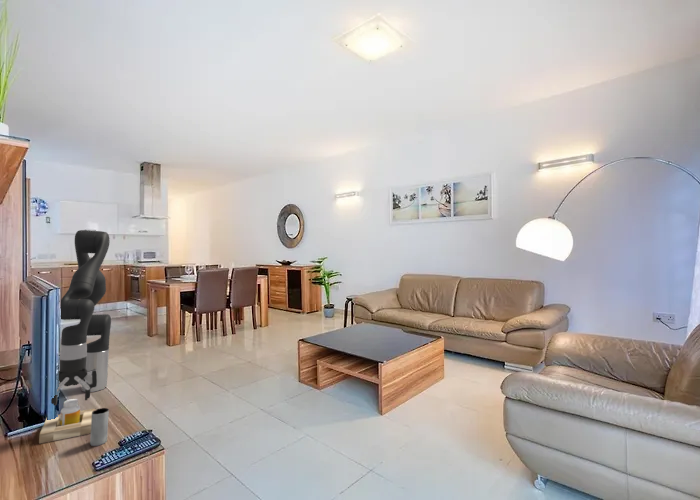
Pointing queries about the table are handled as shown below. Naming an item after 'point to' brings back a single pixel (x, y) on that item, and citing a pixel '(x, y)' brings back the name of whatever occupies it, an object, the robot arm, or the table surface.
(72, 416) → the supplement bottle
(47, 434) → the holder
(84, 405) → the table surface
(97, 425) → the planter
